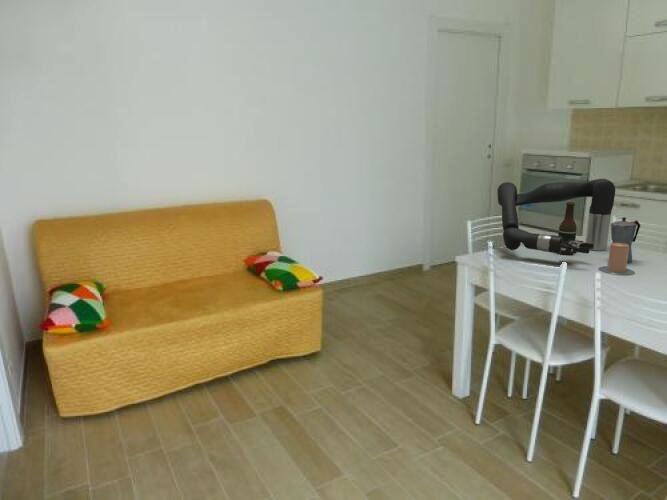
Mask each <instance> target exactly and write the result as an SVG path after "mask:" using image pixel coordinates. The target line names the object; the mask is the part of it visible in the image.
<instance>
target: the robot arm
mask: <svg viewBox="0 0 667 500" xmlns="http://www.w3.org/2000/svg"><path fill="white" fill-rule="evenodd" d="M577 198H591V201H590V202H591V204H590V206H589V209H588V210H589V211H588V218H587V227H586V235H585V242H584V241H583V240H579V239H578V240H576V239H575V240H570V239H569V240H568V241H564V238H563V236H558V235H555V234H547V233H546V234H544V233H542V234H541V233H532V232H529V231H526V230H524V229H521V228H519V224H520V223H519V218H518V212H517V206H518V207H519V206H523V205H531V204H540V203H541V204H542V203H544V204H546V203H559V202H565V201H569V200H573V199H577ZM615 198H616V185H615V184H614V182H612V181H611V180H609V179H607V178H597V179H591V180H585V181H579V182H575V181H565V182H549V183H544V184H542V185H539V186H538V187H536V188H535V189H533V190H531V191H529V192H524V193H518V188H517V186H516V184H515V183H513V182H510V181H509V182H508V181H506V182H503V183H501V184H500V185H499V186H498V188H497V203H498V205H499V206H500V207H501V221H502V223H501V224H502V229H503V233H502V238H503V243H504V246H505V248H507V250H510V251H515V250H517V249H519V248H520V246H521V244H523V246H524V247H525V248H526V249H528V250H535V251H540V252H545V253H546V252H547V253H552V254H557V253H561V252H567V253H573V255H574V254H575V255H576V254H578V253H580V254H587V255H588V254H590V250H592V251H598V252H599V251H600V252H601V251H602V252H603V251H607V247H608V240H609V233H610V227H611V217H612V211H613V209H614V208H613V207H614V202H615Z"/></svg>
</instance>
